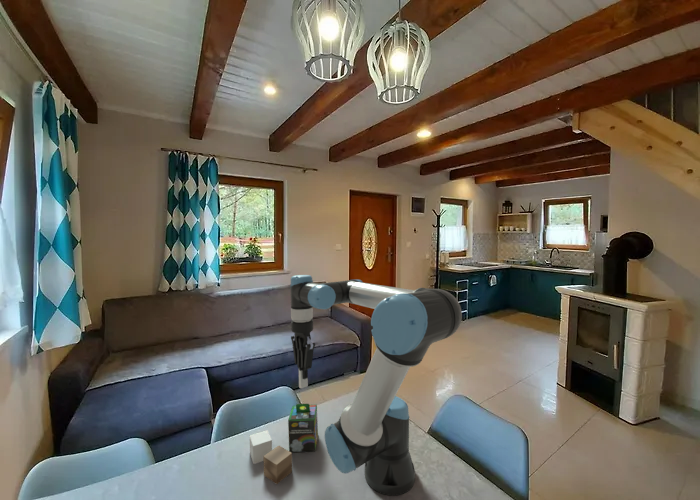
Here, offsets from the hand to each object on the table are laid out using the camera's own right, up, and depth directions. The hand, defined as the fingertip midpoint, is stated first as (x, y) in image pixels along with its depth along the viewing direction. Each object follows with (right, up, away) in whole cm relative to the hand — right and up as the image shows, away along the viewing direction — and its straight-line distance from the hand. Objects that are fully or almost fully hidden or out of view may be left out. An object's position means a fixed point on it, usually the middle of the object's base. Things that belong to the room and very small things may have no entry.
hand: (303, 386), depth 104 cm
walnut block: (-6, -21, -13) cm, 25 cm away
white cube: (-13, -21, -5) cm, 25 cm away
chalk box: (0, -21, +1) cm, 21 cm away
